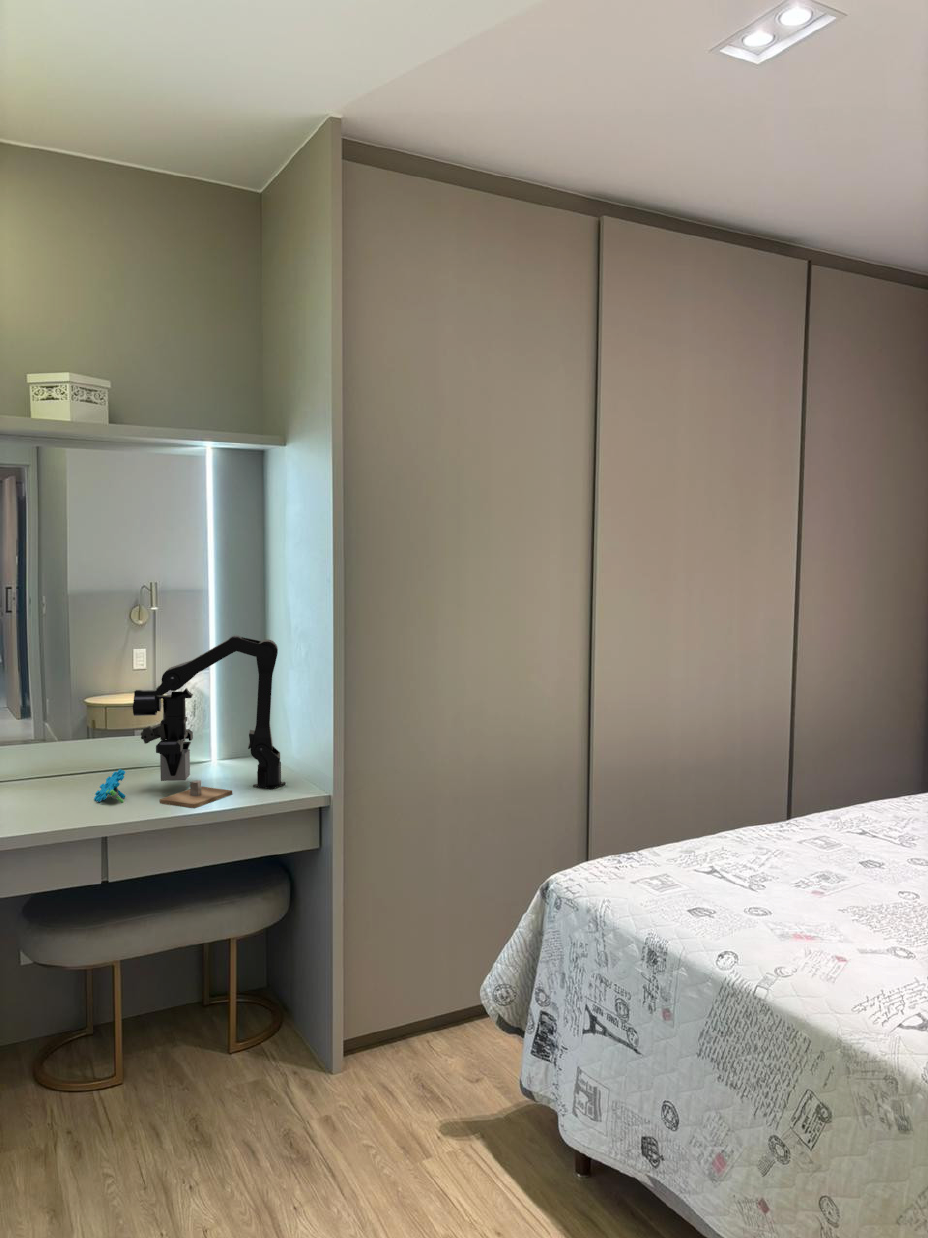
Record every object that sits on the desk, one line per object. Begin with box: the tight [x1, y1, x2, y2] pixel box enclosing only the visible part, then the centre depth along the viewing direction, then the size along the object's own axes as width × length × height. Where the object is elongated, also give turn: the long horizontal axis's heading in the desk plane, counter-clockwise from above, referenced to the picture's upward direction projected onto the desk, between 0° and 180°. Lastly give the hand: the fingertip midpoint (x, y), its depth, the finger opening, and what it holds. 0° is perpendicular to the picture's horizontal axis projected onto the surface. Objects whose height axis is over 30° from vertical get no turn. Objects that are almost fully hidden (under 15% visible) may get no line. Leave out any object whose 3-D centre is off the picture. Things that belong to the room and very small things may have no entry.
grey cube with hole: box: [159, 748, 191, 782], centre depth 256 cm, size 6×6×7 cm
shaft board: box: [159, 779, 233, 809], centre depth 247 cm, size 15×11×4 cm
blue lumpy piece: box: [93, 768, 126, 804], centre depth 246 cm, size 11×6×10 cm
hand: (175, 772), depth 256 cm, fingers closed on grey cube with hole, 6 cm apart
